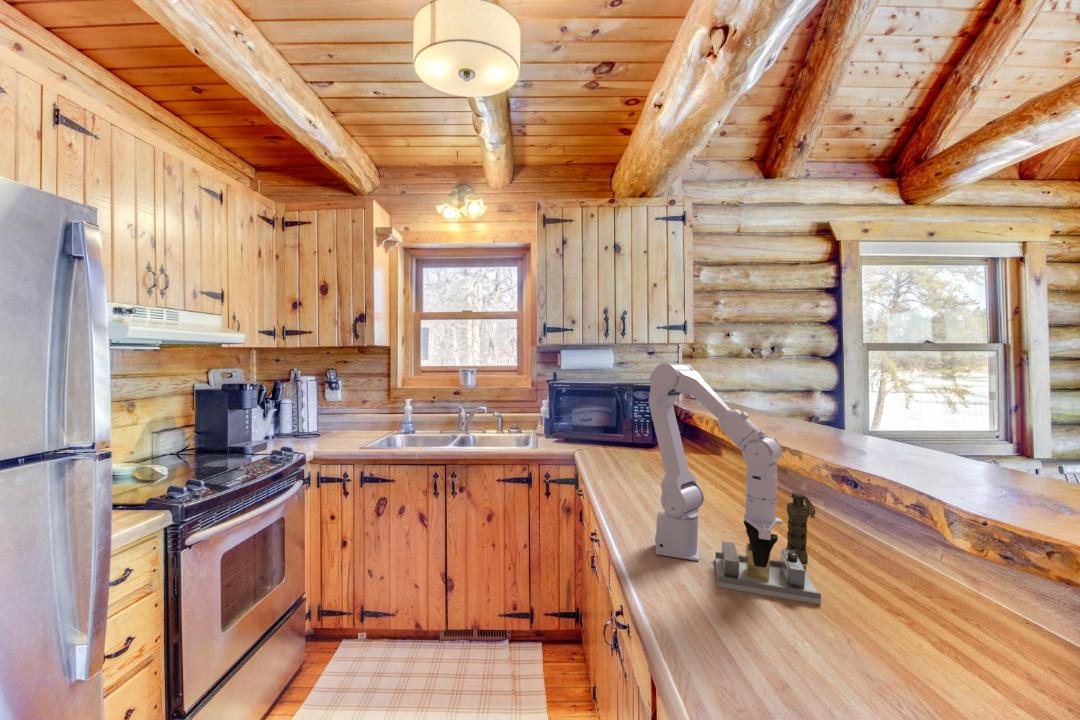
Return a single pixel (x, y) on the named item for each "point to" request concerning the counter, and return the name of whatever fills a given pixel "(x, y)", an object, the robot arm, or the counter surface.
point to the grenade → (798, 524)
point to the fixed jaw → (730, 560)
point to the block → (755, 570)
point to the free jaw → (792, 569)
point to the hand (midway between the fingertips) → (758, 561)
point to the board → (767, 582)
